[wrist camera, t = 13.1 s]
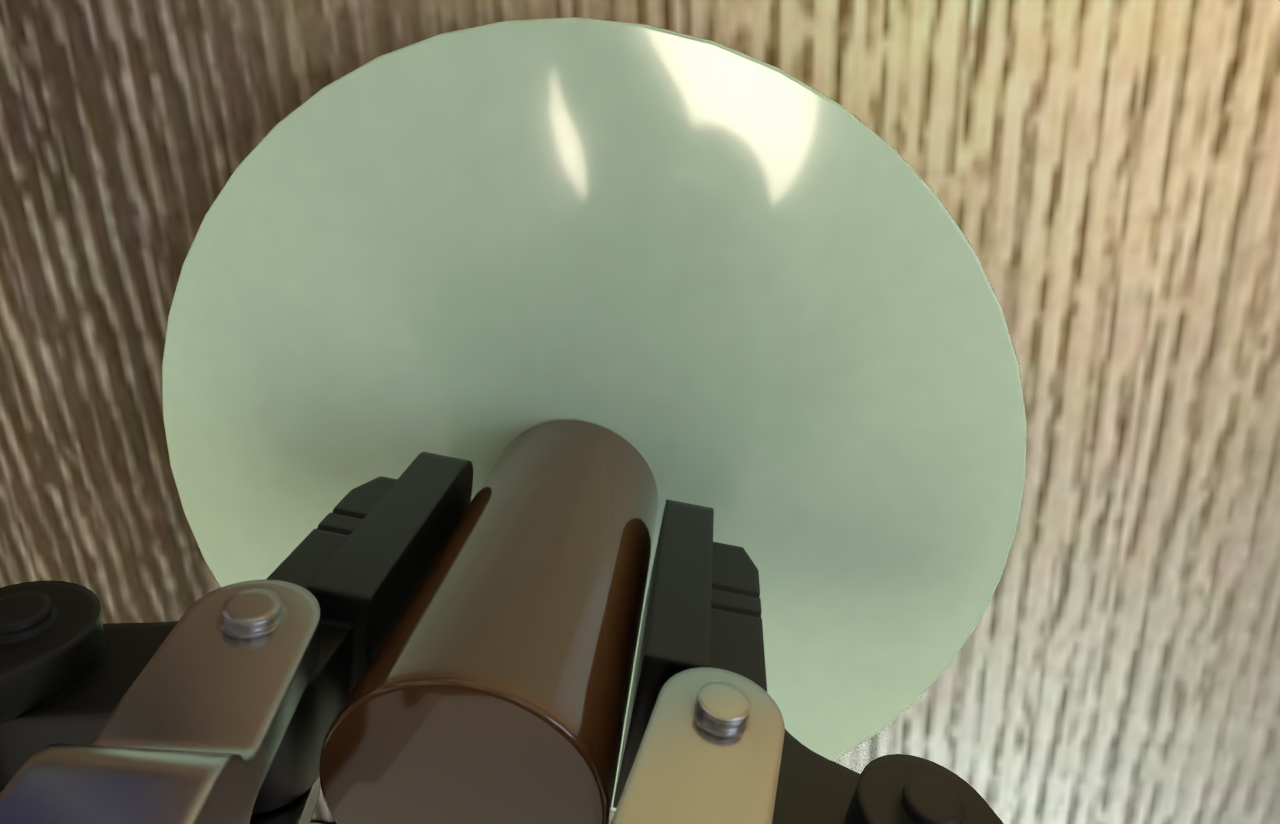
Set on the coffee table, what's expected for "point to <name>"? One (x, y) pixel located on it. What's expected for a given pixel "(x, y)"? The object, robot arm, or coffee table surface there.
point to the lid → (595, 393)
